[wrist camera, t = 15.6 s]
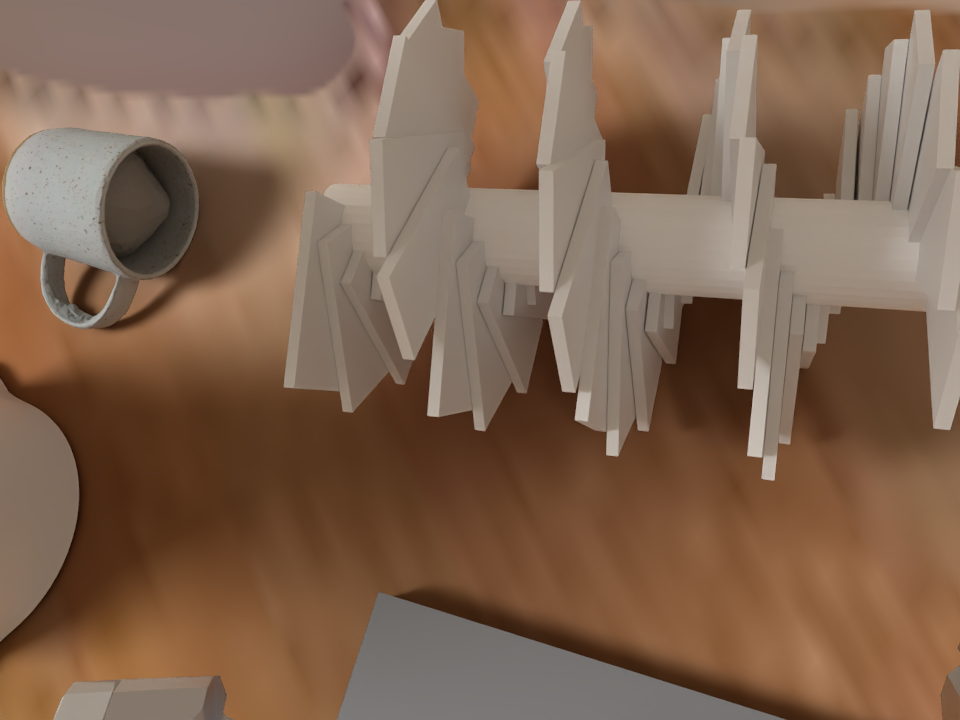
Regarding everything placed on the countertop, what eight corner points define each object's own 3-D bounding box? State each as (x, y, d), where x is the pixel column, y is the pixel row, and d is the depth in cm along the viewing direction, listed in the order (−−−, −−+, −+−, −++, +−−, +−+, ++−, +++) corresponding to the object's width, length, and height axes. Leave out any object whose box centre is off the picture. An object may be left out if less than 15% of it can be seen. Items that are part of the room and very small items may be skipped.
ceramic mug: (107, 166, 56) (22, 91, 49) (217, 186, 54) (144, 111, 47) (34, 320, 54) (-67, 265, 46) (147, 350, 51) (58, 296, 44)
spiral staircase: (437, 259, 53) (899, 286, 45) (315, 494, 42) (907, 586, 34) (360, -61, 41) (976, -100, 33) (155, 146, 29) (1034, 162, 21)
